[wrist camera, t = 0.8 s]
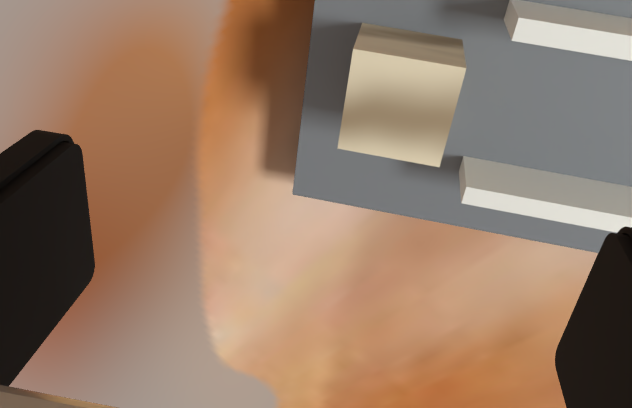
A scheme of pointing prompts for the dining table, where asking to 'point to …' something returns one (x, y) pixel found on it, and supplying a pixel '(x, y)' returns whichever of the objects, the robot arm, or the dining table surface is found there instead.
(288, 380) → the dining table surface
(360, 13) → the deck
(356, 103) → the birch block
